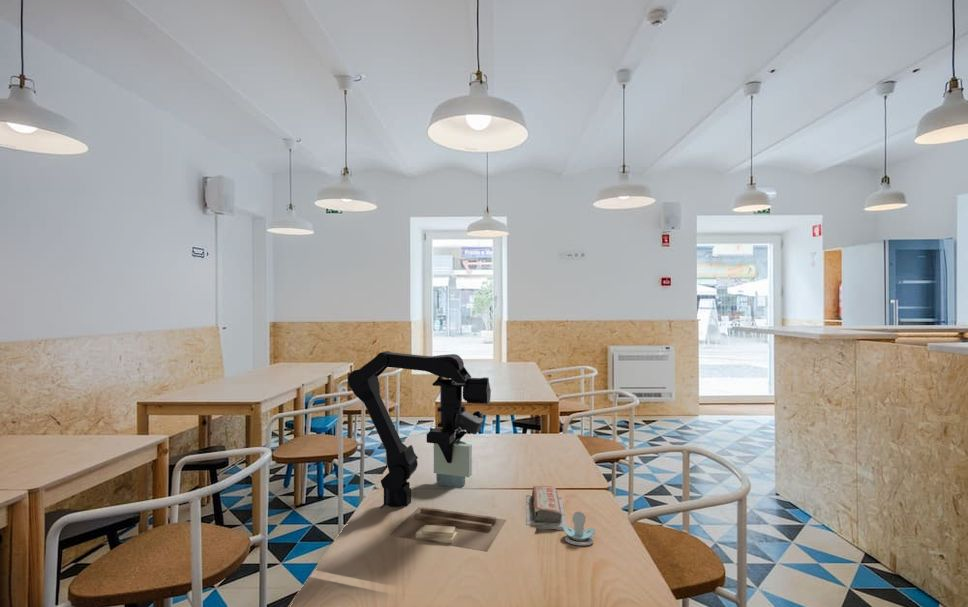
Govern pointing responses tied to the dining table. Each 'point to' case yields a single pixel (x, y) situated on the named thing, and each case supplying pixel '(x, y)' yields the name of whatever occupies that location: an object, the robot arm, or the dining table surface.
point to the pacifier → (579, 531)
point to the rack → (470, 527)
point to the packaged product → (545, 509)
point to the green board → (454, 461)
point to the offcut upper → (438, 531)
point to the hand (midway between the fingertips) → (451, 461)
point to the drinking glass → (450, 479)
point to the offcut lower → (436, 537)
